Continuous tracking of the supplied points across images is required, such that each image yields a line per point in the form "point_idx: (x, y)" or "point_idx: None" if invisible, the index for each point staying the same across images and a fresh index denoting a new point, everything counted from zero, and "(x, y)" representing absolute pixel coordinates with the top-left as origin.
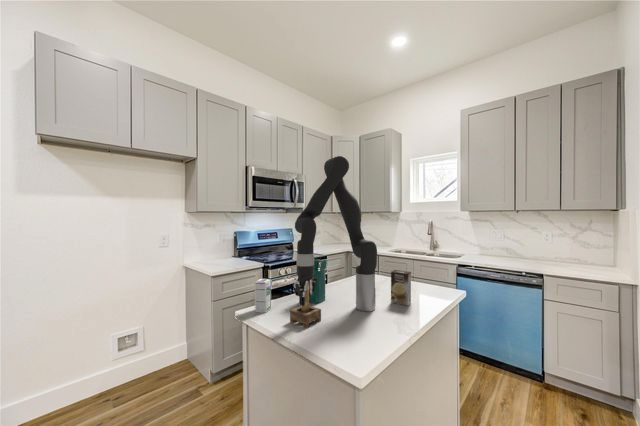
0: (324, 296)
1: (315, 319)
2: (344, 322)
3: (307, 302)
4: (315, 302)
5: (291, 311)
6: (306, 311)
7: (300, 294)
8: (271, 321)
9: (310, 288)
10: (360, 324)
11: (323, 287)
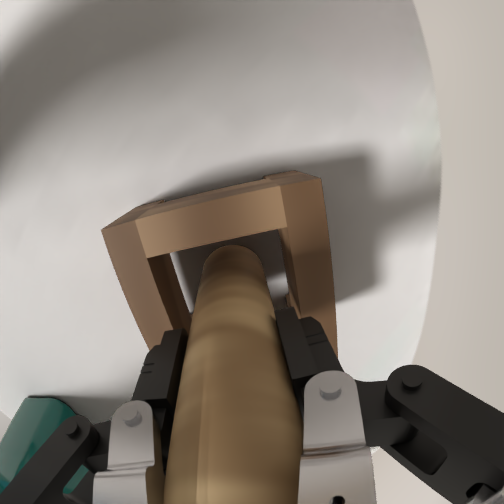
0: (21, 408)
1: (190, 196)
2: (45, 102)
3: (235, 318)
4: (68, 408)
5: (336, 342)
6: (245, 272)
7: (418, 390)
8: (370, 362)
9: (145, 487)
10: (18, 47)
11: (8, 440)
